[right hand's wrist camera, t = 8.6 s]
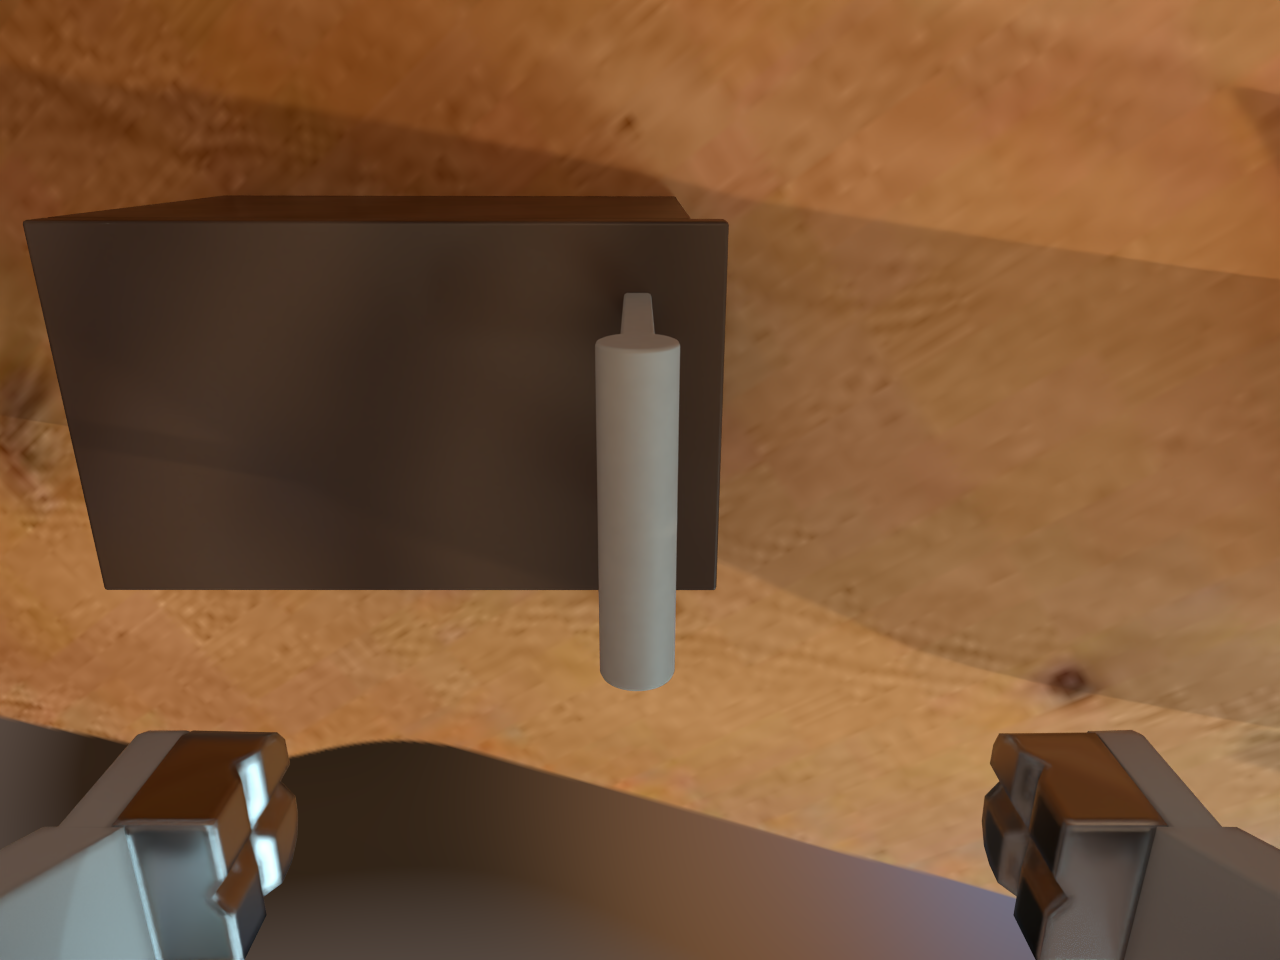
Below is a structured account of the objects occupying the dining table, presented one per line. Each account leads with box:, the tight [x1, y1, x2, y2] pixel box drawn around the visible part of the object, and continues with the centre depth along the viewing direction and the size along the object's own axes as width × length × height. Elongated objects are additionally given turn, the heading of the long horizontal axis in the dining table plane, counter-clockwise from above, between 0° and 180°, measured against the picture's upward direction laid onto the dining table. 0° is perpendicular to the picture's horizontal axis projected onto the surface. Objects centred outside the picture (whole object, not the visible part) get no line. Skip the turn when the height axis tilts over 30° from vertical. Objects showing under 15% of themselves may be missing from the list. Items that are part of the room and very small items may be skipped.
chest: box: [48, 196, 690, 219], centre depth 30 cm, size 17×10×11 cm, turn 90°
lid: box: [23, 218, 729, 691], centre depth 21 cm, size 18×10×8 cm, turn 90°
